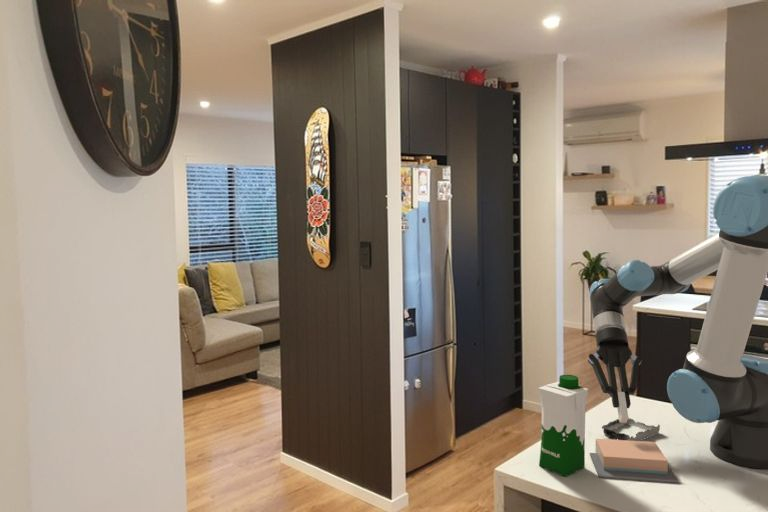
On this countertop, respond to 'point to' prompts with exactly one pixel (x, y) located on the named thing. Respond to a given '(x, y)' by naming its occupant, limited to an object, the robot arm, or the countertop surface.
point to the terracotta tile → (631, 456)
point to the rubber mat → (632, 473)
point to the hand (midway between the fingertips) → (624, 420)
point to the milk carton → (563, 426)
